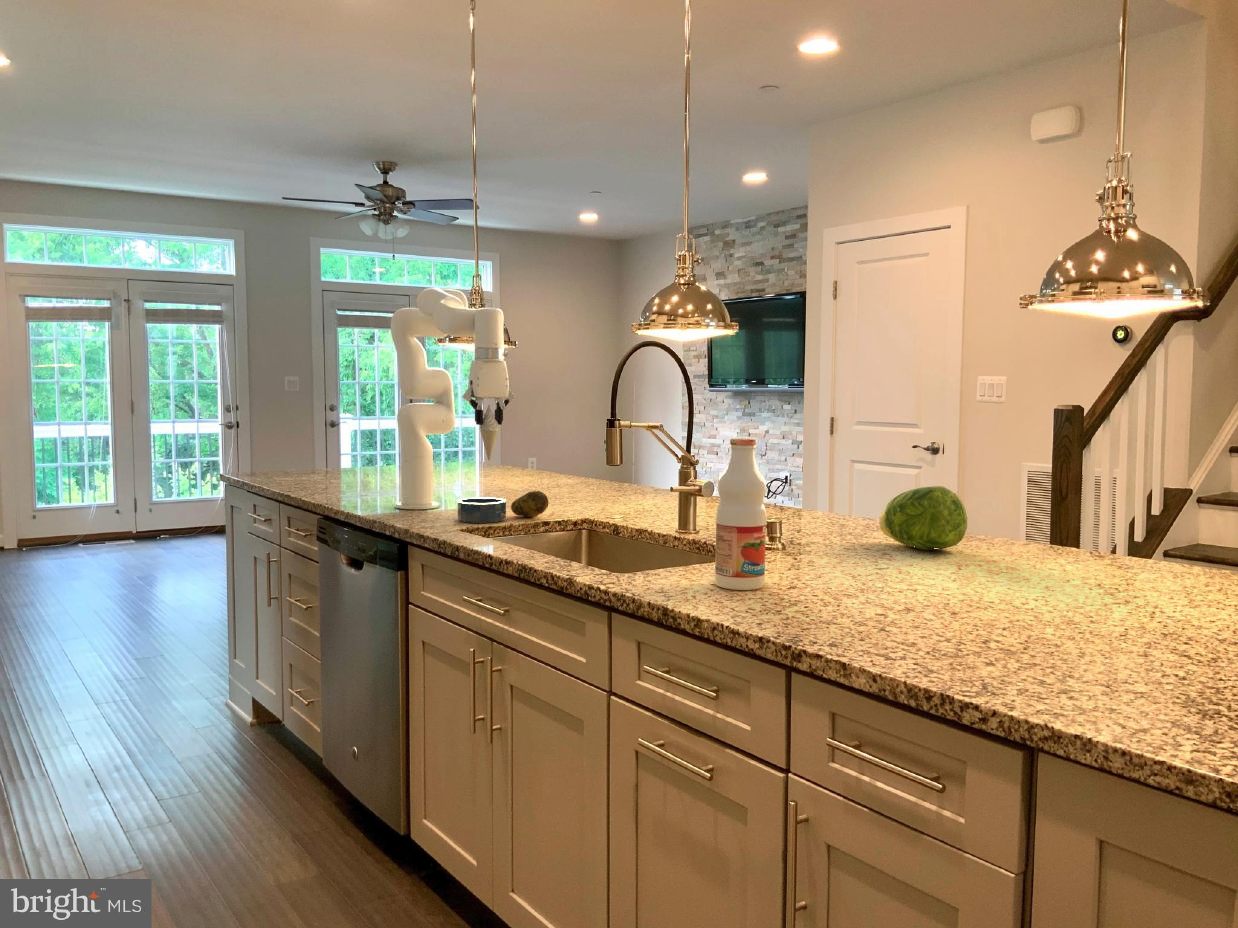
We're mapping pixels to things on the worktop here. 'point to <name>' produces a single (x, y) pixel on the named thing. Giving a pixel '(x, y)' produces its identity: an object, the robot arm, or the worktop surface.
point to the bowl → (481, 510)
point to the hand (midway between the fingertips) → (488, 423)
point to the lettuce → (925, 518)
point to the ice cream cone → (489, 432)
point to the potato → (530, 504)
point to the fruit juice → (741, 521)
